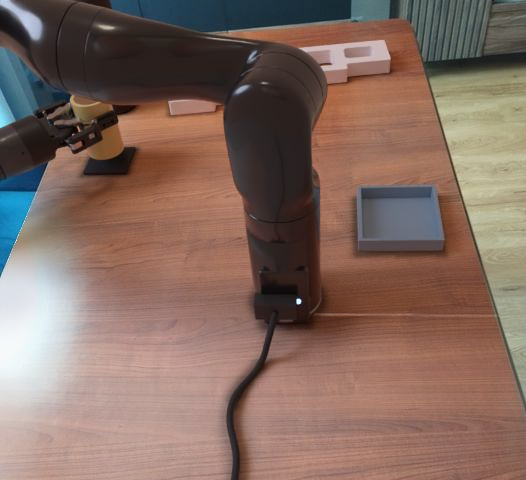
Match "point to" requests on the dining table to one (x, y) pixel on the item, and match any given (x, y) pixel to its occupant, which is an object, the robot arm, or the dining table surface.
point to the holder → (343, 65)
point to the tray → (399, 218)
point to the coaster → (111, 163)
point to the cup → (111, 135)
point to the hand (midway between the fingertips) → (105, 108)
